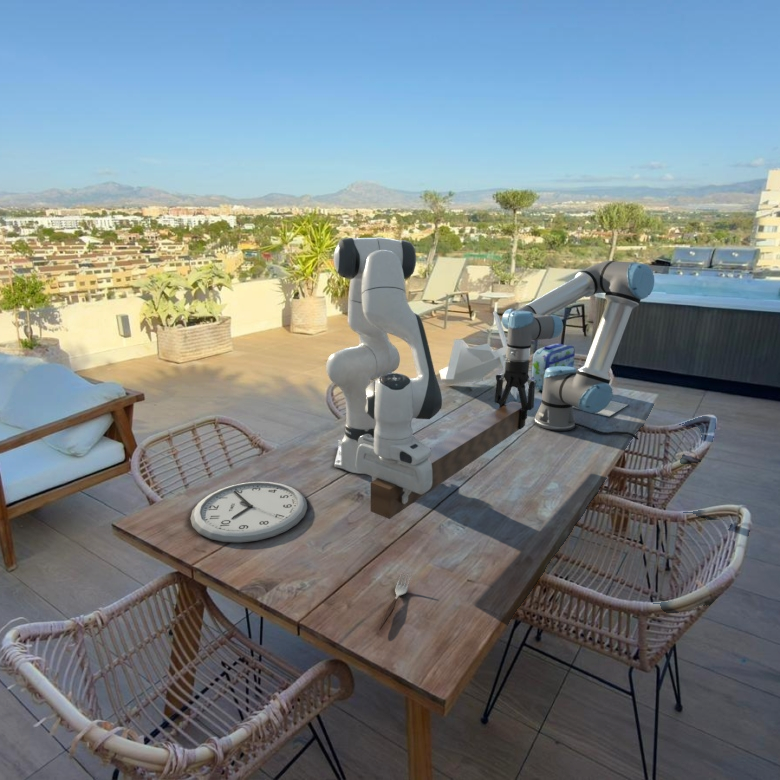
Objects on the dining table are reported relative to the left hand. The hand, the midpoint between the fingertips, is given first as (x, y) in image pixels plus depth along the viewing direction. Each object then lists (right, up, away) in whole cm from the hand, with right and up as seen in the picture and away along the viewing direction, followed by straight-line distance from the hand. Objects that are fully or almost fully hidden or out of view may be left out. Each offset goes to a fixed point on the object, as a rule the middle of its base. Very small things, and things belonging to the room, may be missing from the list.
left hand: (391, 497), depth 124 cm
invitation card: (+91, +18, +102) cm, 138 cm away
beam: (+20, +5, +27) cm, 34 cm away
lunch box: (+77, +27, +128) cm, 151 cm away
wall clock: (-38, -7, +15) cm, 41 cm away
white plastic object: (+41, +24, +119) cm, 128 cm away
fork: (0, -18, -19) cm, 26 cm away
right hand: (+41, +14, +52) cm, 68 cm away
